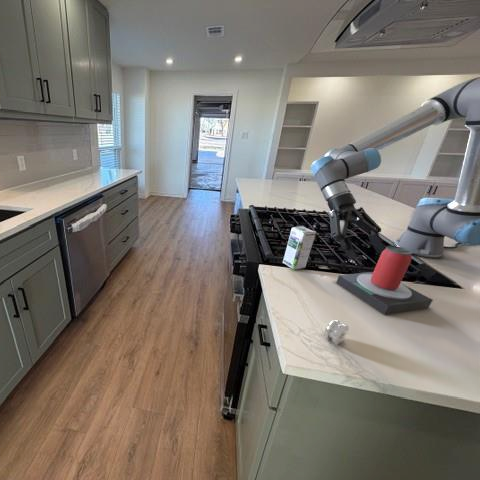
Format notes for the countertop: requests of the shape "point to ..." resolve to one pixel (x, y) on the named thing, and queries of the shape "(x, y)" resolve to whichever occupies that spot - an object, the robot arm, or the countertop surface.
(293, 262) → the syrup box
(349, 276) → the kitchen scale
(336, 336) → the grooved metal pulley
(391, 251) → the beer can
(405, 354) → the countertop surface
